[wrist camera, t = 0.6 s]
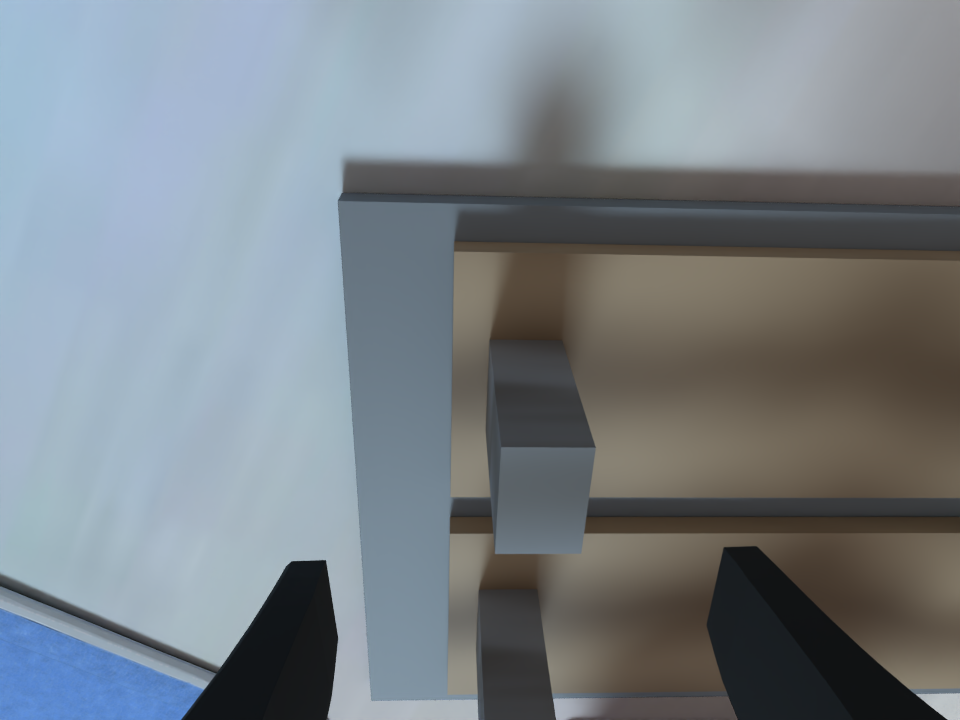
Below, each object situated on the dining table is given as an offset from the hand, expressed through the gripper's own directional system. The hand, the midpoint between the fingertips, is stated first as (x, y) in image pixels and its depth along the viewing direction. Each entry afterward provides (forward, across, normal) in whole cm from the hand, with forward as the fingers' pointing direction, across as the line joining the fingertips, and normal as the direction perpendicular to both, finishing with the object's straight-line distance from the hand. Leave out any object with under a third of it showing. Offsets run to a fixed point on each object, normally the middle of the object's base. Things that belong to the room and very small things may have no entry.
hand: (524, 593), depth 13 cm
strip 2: (+9, -12, +10) cm, 19 cm away
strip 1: (+9, -13, +1) cm, 16 cm away
